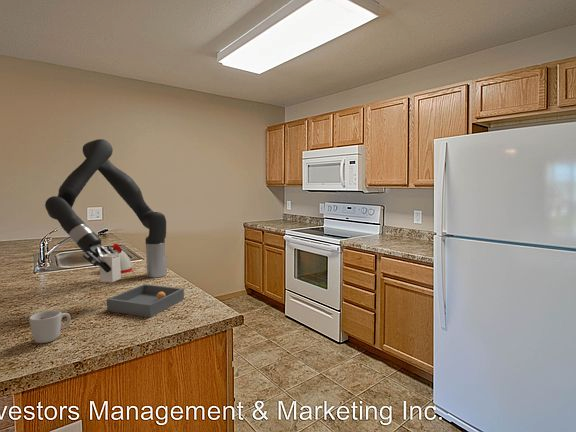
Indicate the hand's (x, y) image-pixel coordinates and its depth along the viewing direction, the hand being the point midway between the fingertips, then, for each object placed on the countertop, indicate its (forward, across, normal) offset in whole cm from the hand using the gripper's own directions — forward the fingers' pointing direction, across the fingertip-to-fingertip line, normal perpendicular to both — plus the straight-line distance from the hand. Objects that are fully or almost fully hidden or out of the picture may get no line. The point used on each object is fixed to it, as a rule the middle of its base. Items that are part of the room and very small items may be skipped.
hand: (114, 268), depth 133 cm
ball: (+20, +5, -4) cm, 21 cm away
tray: (+19, +2, +1) cm, 19 cm away
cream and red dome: (-11, +48, +32) cm, 58 cm away
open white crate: (+2, 0, +4) cm, 5 cm away
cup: (+10, -29, +12) cm, 33 cm away
